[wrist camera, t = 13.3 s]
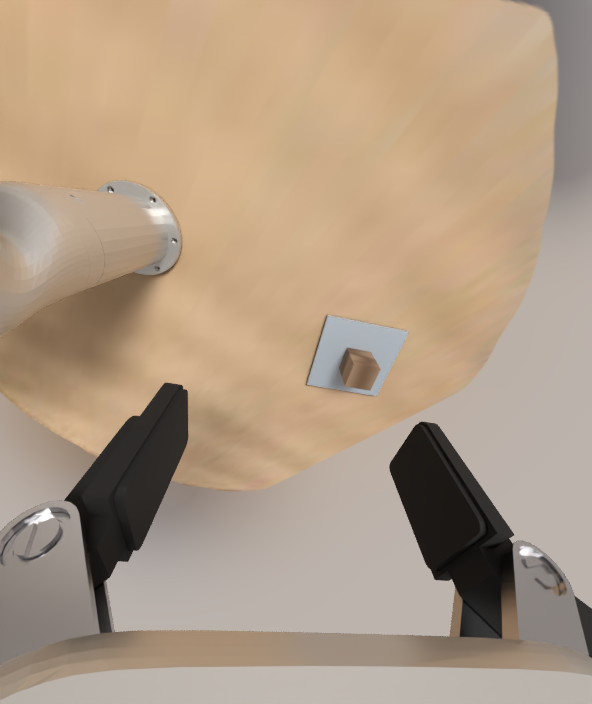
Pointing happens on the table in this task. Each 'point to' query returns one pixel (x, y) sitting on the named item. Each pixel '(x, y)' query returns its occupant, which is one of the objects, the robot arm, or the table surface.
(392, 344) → the slate board
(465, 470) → the robot arm
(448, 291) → the table surface
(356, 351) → the walnut block
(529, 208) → the table surface
